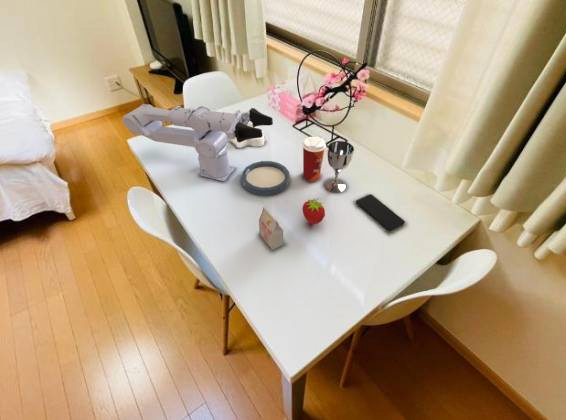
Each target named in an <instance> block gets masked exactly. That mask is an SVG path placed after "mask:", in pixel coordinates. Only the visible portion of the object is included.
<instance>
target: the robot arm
mask: <svg viewBox="0 0 566 420" xmlns="http://www.w3.org/2000/svg"><path fill="white" fill-rule="evenodd" d="M122 122H123V125H124V126H125V127H126V129H127V130H128V131H129V132H130V133H131V134H132V135H136V136H143V137H145V138H147V139H148V140H151V141H153V142H156V143H163V144H171V145H177V146H183V147H191V148H194V149H195V152H196V153H197V154H198V159H197V160H198V164H199V168H200V169H199V170H200V173H199V174H200V176H201V177H205V178H210V179H212V180H217V181H220V182H225V181H226V180H227V178H229V176H230V175H231V174H232V173H233V172H234V170H235V167H233V166H230V163H229V156H228V151H227V149H228V148H227V147H228V146H227V144H228V143H229V142H230V141H229V139H235V137H236V138H237V142H242V141H245V140H248V139H253V138H260V137H262V136H263V135H262V134H263V133H262V131H263V129H262V128H260V127H261V126H273V124H274V119H273V117H272V116H269V115H266V114H264V113H262V112H260V111H259V110H258V109H256V108H255V107H251V108H250V109H249V110H248V111H245V112H241V110H240V109H239V110H238V109H237V110H236V111H235V112H234V113H233V112H225V111H215V110H210V109H209V108H208V107H206V106H202V105H201V106H198V108H193V107H189V108H188V107H187V108H185V107H181V105H176V106H175V107H173V108H171V110H170V109H167V108H166V109H165V108H161V107H155V106H153V105H152V104H146V103H142V104H141V105H139V106H138V107H137V108H135V109H134V110H132V111H130V112H128V113H127V114H124V115H123V116H122ZM164 122H171V124H172V125H173V126H175V127H172V126H171V127H170V126H163V123H164ZM248 123H252V124H253V127H250V126H247V125H248ZM179 127H182V128H179ZM183 127H184V128H183ZM254 127H258V128H254ZM188 128H190V129H188ZM259 128H260V129H259Z"/></svg>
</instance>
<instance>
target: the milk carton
mask: <svg viewBox="0 0 566 420" xmlns="http://www.w3.org/2000/svg"><path fill="white" fill-rule="evenodd" d="M258 228H259V236H260V237H261V238H262V239H263V241H264V242H265V243H266V245H267V247H268V248H270V250H271V251H274V250H276V249H277V248H280V247H282V246H283V245H284V229H283V228H282V227H281V226H280V224H279V222H278V220H276V218H275V217H274V216H273V215H272V213H270V211H269V210H268V209H267V208H266V207H265V206H264V207H262V212H261V214H260V216H259V219H258Z"/></svg>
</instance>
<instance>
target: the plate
mask: <svg viewBox="0 0 566 420" xmlns="http://www.w3.org/2000/svg"><path fill="white" fill-rule="evenodd" d="M241 182H242V185H243V187H244V189H245V190H246V191H247V192H249V193H251V194H252V195H256V196H262V197H267V196H274V195H277V194H279V193H282V192H283V191H285V190H286V189H287V187H288V186H289V184H290V171H289V170H288V168H287V167H286V166H285V165H284V164H281V163H280V162H277V161H272V160H260V161H257V162H254V163H251V164H249V165H247V166H246V167H245V168H244V169H243V171H242V172H241Z"/></svg>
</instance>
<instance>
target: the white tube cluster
mask: <svg viewBox="0 0 566 420" xmlns="http://www.w3.org/2000/svg"><path fill="white" fill-rule="evenodd" d="M247 126H250V127H253V124H252V122H249V123H248V125H247ZM254 128H259V129H261V128H260V127H259V126H256V127H254ZM264 132H265V131H263V130H262V135H263V136H262V137H260V138H253V139H248V140H245V141H242V142H237V138H236V137H235V139H229V141H228V142H231V143H232V144H233V145H234V146H235V147H236V148H239V149H240V148H244V147H247V146H251V147H254V148H255V147H256V148H258V147H262V146H264V144H265V134H264Z"/></svg>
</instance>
